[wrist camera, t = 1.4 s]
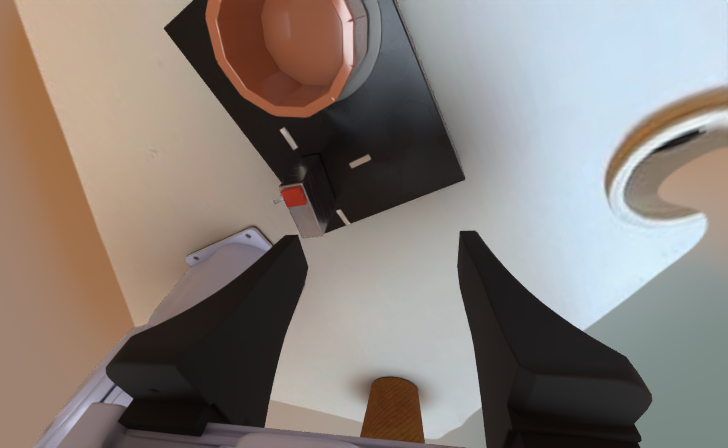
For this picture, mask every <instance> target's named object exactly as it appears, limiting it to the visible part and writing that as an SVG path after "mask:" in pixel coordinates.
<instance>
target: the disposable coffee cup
mask: <svg viewBox="0 0 728 448" xmlns="http://www.w3.org/2000/svg"><path fill="white" fill-rule="evenodd" d="M360 437H362V438H372V439H382V440H393V441H403V442H413V443H423V444H425V440H424V433H423V426H422V418H421V411H420V403H419V395H418V389H417V387H416V386H415V385H414V384H413V383H411V382H409V381H407V380H404V379H400V378H392V377H387V378H381V379H378V380H376V381H374V382H373V383H372V386H371V391H370V395H369V400H368V404H367V409H366V413H365V418H364V422H363V426H362V431H361V435H360Z"/></svg>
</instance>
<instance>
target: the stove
mask: <svg viewBox="0 0 728 448" xmlns="http://www.w3.org/2000/svg"><path fill="white" fill-rule="evenodd" d="M378 2H379V6H380V10H381V18H382V40H381V47H380V52H379V56H378V59H377V61H376V64H375V66H374V68H373V70H372V72H371V74H370V76H369V77H368V79H367V80H366V81H365V83H364V84H363V85H362V86H361V87H360V88H359V89H358V90H357V91H356V92H355V93H353V94H352V95H350V96H349V97H347V98H345V99H343V100H340V101H337V102H334V103H333V104H331V105H329V106H327V107H326V108H324V109H322V110H320V111H319V112H317V113H315V114H314V115H312V116H310V117H307V118H301V117H283V116H275V115H272V114H270V113H268V112H267V111H265V110H263V109H262V108H260V107H258V106H257V105H255V104H253V103H252V102H250V101H248V100H247V99H245V98H243V95H242V96H241V95H240V93H239V92H238V91H237V89H236V88H235V87H234V85H233V84H232V82H231V81H230V80H229V78H228V77H227V75H226V74H225V73H224V71H223V70H222V69H221V67H220V66H219V64H218V63H217V62H218V61H217V60H216V58H215V54H214V50H213V46H212V42H211V38H210V34H209V30H208V26H207V22H206V17H207V16H206V15H205V14H206V9H207V3H208V0H193V1H192V2H191V3H190V4H189V5H188V6H187V7H186V8H184V9H183V10H182V11H181V12H180V13H179V14H178V15H177V16H176V17H175V18H174V19H173V20H172V21H171V22H170V23H169V24H167V25H166V26H165V27H164V30H165V31H166V32H167V34H168V35H169V36H170V37H171V39H172V40H173V41H174V43H175V44H176V45H177V47H178V48H179V49H180V51H181V52H182V53H183V54H184V56H185V57H186V58H187V60H188V61H189V62H190V64H191V65H192V66H193V68H194V69H195V70H196V71H197V73H198V74H199V75H200V77H201V78H202V79H203V81H204V82H205V83H206V84H207V86H208V87H209V88H210V90H211V91H212V92H213V94H214V95H215V96H216V98H217V99H218V100H219V101H220V103H221V104H222V105H223V107H224V108H225V109H226V111H227V112H228V113H229V114H230V116H231V117H232V118H233V120H234V121H235V122H236V124H237V125H238V126H239V128H240V129H241V130H242V131H243V133H244V134H245V135H246V137H247V138H248V139H249V141H250V142H251V143H252V144H253V146H254V147H255V148H256V150H257V151H258V152H259V154H260V155H261V156H262V158H263V159H264V160H265V161H266V163H267V164H268V165H269V167H270V168H271V169H272V171H273V172H274V173H275V175H276V176H277V177H278V178H279V180H280V181H281V182H283V180H284V179H285V178H286V176H287V175H288V173H289V172H290V171H291V169H292V168H293V166H294V165H295V164H296V162H297V161H298V159H299V158H301V157H307V156H312V155H317V154H319V155H320V158H321V161H322V164H323V166H324V169H325V172H326V175H327V178H328V181H329V183H330V186H331V189H332V192H333V195H334V198H335V200H336V203H335V206H334V208H333V211H332V214H331V216H330V219H329V222H328V224H327V227H326V230H325V232H324V234H325V233H327V232H330V231H333V230H335V229H338V228H340V227H343V226H346V225H349V224H351V223H353V222H356V221H359V220H361V219H364V218H366V217H369V216H372V215H374V214H377V213H380V212H382V211H385V210H387V209H390V208H393V207H395V206H398V205H400V204H403V203H406V202H408V201H411V200H413V199H416V198H419V197H421V196H424V195H426V194H429V193H432V192H434V191H437V190H439V189H442V188H445V187H447V186H450V185H453V184H455V183H458V182H460V181H463V180H465V175H464V172H463V169H462V166H461V162H460V160H459V157H458V155H457V152H456V150H455V147H454V145H453V142H452V140H451V137H450V135H449V132H448V129H447V127H446V124H445V122H444V119H443V117H442V114H441V112H440V109H439V107H438V104H437V102H436V99H435V97H434V94H433V92H432V89H431V87H430V84H429V82H428V79H427V77H426V74H425V72H424V69H423V67H422V64H421V62H420V59H419V57H418V54H417V52H416V49H415V46H414V44H413V41H412V39H411V36H410V34H409V31H408V29H407V26H406V24H405V21H404V19H403V16H402V14H401V11H400V9H399V6H398V4H397V1H396V0H378ZM283 200H284V199H283V197H282V195H281V196H279V197H276V198H274V199H273V200H272V201H273V202H274V203H275V204H277V203H279V202H281V201H283Z"/></svg>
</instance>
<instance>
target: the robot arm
mask: <svg viewBox="0 0 728 448" xmlns="http://www.w3.org/2000/svg"><path fill="white" fill-rule="evenodd" d="M248 234H250V235H251V236H250V235H248ZM185 261H186V262H187V263H188V264H189V265H190V266H191V267H190V268H189V270H188V271H187V272H186V273H185V274H184V276H183V277H182V278H181V279H180V280H179V282H178V283H177V284H176V285H175V286H174V288H173V289H172V290H171V291H170V293H169V294H168V295H167V296H166V297H165V299H164V300H163V301H162V302H161V303H160V305H159V306H158V307H157V308H156V309H155V311H154V312H153V314H152V315H151V317H150V320H149V322H148V324H145V325H143V326H139V327H135V328H132V329H131V330H130V331H129V332H128V333H127V334H126V335H125V336H124V337H123V338H122V339H121V340H120V341H119V342H118V343H117V344H116V346H114V347H113V349H112V350H111V351H110V352H109V353H108V354H107V355H106V356H105V357H104V359H103V360H102V361H101V362H100V363H99V364H98V365H97V366H96V367H95V369H94V370H93V371H92V372H91V373H90V374H89V375H88V377H87V378H86V379H85V380H84V381H83V382H82V384H81V385H80V386H79V387H78V388H77V390H76V391H75V392H74V393H73V394H72V396H71V397H70V398H69V399H68V400H67V402H66V403H65V404H64V405H63V407H62V408H61V410H60V411H59V412H58V414H57V416H56V417H55V418H54V420H53V421H52V422H51V423H50V424H49V425H48V426H47V427H46V429H45V430H44V431H43V432H42V434H41V435H40V436H39V438H38V439H37V440H36V442H35V443H34V445H33V446H32V448H464V447H454V446H444V445H434V444H423V443H413V442H403V441H393V440H382V439H372V438H362V437H351V436H342V435H331V434H321V433H311V432H300V431H291V430H280V429H270V428H264V426H265V422H266V416H267V410H268V404H269V400H270V395H271V391H272V386H273V381H274V377H275V373H276V369H277V364H278V360H279V356H280V353H281V349H282V345H283V342H284V338H285V335H286V332H287V329H288V326H289V324H290V321H291V319H292V316H293V314H294V311H295V308H296V306H297V303H298V301H299V298H300V295H301V293H302V290H303V288H304V286H305V280H306V276H307V271H308V264H307V261H306V258H305V255H304V252H303V249H302V246H301V243H300V240H299V237H298V235H285V236H284V237H283V238H282V239H280V240H279V241H278V242H277V243H276V244H275V245H274V246H272V245H271V244H270V243H269V242H268V241H267V239H266V238H265V237H264V236H263V235H262V234H261V233H260V232H259V231H258V230H257V229H256V228H254V227H251V228H248V229H246V230H244V231H241V232H239V233H237V234H235V235H233V236H230V237H228V238H226V239H224V240H221V241H219V242H217V243H215V244H212V245H210V246H208V247H206V248H203V249H201V250H199V251H197V252H194V253H192V254H190V255H188V256H187V257H186V258H185ZM457 268H458V277H459V285H460V290H461V294H462V298H463V303H464V307H465V311H466V315H467V319H468V323H469V327H470V331H471V335H472V340H473V344H474V351H475V358H476V365H477V372H478V380H479V387H480V395H481V403H482V411H483V419H484V428H485V437H486V446H487V448H640V446H639V444H638V442H640V441H641V436H640V434H639V432H638V430H637V428H636V426H635V425H634V423H635V422H636V421H637V420H638V419H639V418H640V417H641V416H642V415H643V414H644V412H645V411H646V410H647V409H648V407H649V406H650V404H651V402H652V395H651V393H650V391H649V390H648V388H647V386H646V385H645V383H644V382H643V380H642V378H641V377H640V375H639V374H638V372H637V371H636V369H635V368H634V367H633V365H632V364H631V363H630V362H629V360H628V359H627V357H625V356H624V355H622V354H620V353H618V352H617V351H615V350H613V349H611V348H609V347H608V346H606V345H604V344H602V343H601V342H599V341H597V340H596V339H594V338H592V337H591V336H589V335H587V334H586V333H584V332H583V331H581V330H580V329H578V328H577V327H575V326H574V325H572V324H571V323H569V322H568V321H566V320H565V319H563V318H562V317H561V316H559V315H558V314H557V313H555V312H554V311H553V310H551V309H550V308H549V307H547V306H546V305H545V304H543V303H542V302H541V301H540V300H539V299H537V298H536V297H535V296H534V295H533V294H532V293H530V292H529V291H528V290H527V289H526V288H525V287H524V286H523V285H522V284H521V283H520V282H519V281H518V280H517V279H516V278H515V277H514V276H513V275H512V274H511V273H510V272H509V271H508V270H507V269H506V268H505V267H504V266H503V265H502V263H501V262H500V261H499V260H498V259H497V258H496V256H495V255H494V254H493V253H492V252H491V250H490V249H489V248H488V246H487V245H486V244H485V242H484V241H483V240H482V238H481V237H480V236H479V234H478V233H477V232H476V231H460V237H459V250H458V264H457Z"/></svg>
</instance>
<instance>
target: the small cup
mask: <svg viewBox="0 0 728 448" xmlns="http://www.w3.org/2000/svg"><path fill="white" fill-rule="evenodd" d="M205 15H206V16H207V17H206V22H207V26H208V30H209V34H210V38H211V42H212V46H213V50H214V54H215V58H216V60H217V61H218V62H217V63H218V64H219V66H220V67H221V69H222V70H223V71H224V73H225V74H226V75H227V77H228V78H229V80H230V81H231V82H232V84H233V85H234V87H235V88H236V89H237V91H238V92H239V93H240V95H241V96H242V95H243V98H245V99H247V100H248V101H250V102H252V103H253V104H255V105H257V106H258V107H260V108H262V109H263V110H265V111H267V112H268V113H270V114H272V115H275V116H283V117H301V118H307V117H310V116H312V115H314V114H315V113H317V112H319V111H320V110H322V109H324V108H326V107H327V106H329V105H331V104H333V103H334V102H335V101H336V100H337V99H338V98H339V97H340V95H341V94H342V93H343V91H344V90H345V89H346V87H347V86H348V85H349V84H350V82H351V81H352V80H353V78H354V76H355V74H356V72H357V70H358V68H359V66H360V64H361V62H362V61H363V59H364V57H365V55H366V51H367V16H366V15H367V13H366V11H365V9H364V7H363V4H362V2H361V0H208V3H207V9H206V14H205Z"/></svg>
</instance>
